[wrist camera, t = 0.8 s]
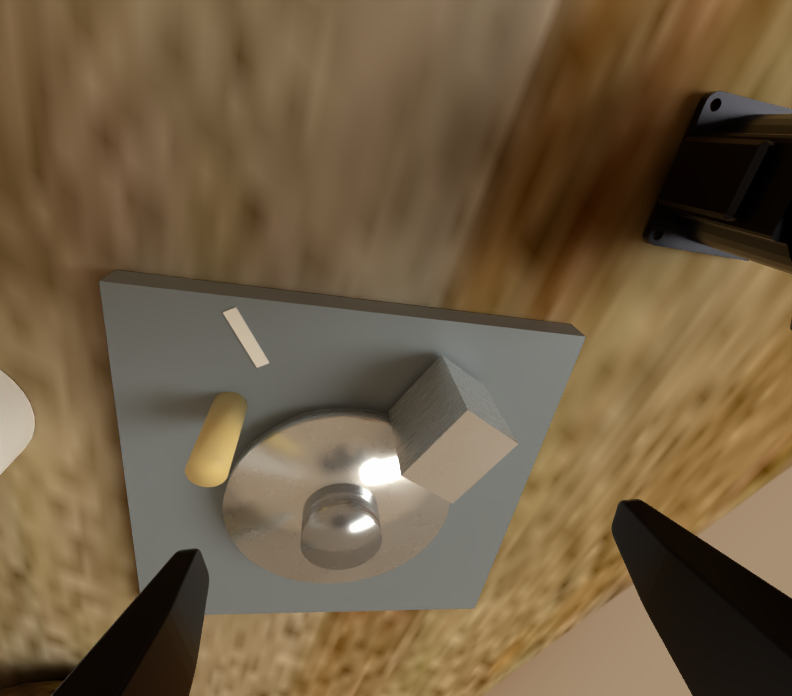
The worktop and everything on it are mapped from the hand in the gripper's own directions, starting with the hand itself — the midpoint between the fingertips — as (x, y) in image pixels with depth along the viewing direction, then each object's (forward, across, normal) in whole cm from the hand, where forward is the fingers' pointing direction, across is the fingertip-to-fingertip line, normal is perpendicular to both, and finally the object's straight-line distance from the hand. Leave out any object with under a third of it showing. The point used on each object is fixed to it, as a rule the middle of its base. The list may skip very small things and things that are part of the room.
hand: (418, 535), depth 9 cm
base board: (+13, +3, +11) cm, 17 cm away
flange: (+11, +2, +9) cm, 15 cm away
